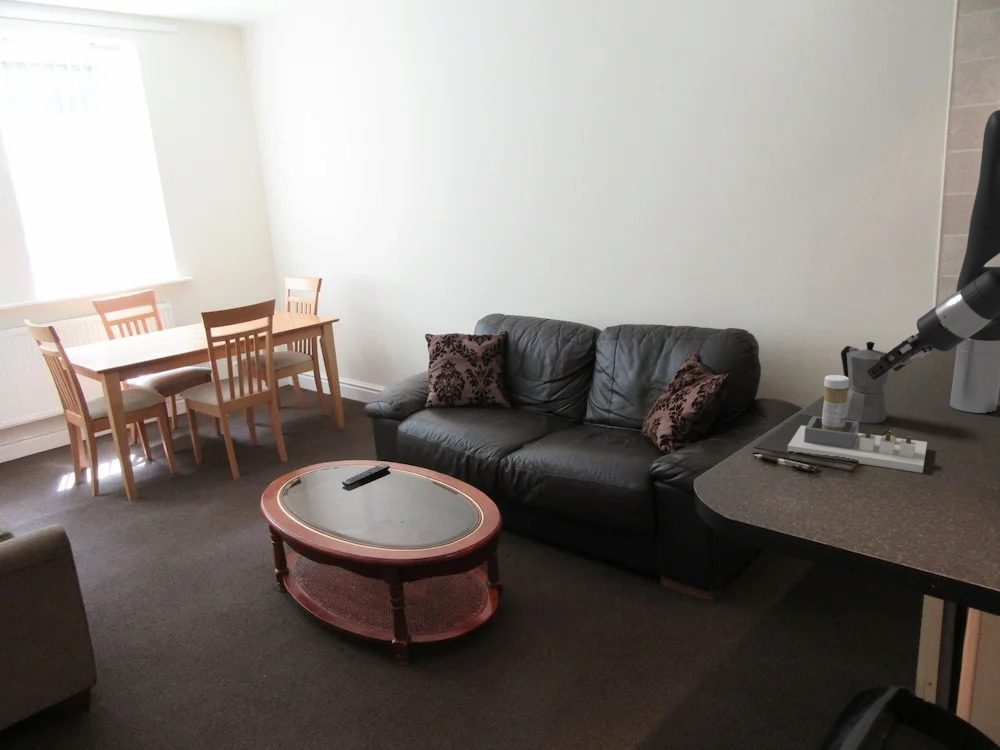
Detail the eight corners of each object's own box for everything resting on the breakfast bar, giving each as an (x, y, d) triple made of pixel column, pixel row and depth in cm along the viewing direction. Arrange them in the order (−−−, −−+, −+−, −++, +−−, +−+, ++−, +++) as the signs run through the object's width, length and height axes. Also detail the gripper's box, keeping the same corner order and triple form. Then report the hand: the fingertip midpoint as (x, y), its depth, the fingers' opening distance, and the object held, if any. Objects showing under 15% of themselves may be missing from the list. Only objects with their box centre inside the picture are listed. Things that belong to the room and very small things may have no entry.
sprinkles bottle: (832, 433, 149) (837, 373, 145) (849, 440, 144) (854, 378, 141) (815, 437, 147) (819, 376, 144) (831, 444, 143) (837, 381, 139)
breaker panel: (800, 431, 155) (802, 409, 154) (926, 448, 142) (929, 425, 141) (787, 452, 144) (788, 428, 142) (922, 472, 131) (925, 447, 130)
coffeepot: (902, 423, 157) (911, 345, 153) (866, 428, 155) (873, 349, 151) (854, 404, 172) (860, 333, 167) (820, 408, 170) (826, 336, 165)
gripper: (956, 298, 129) (886, 349, 140) (921, 309, 120) (850, 362, 132) (985, 330, 126) (911, 380, 138) (951, 343, 118) (876, 394, 130)
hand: (881, 371), depth 135 cm, fingers open, 8 cm apart
